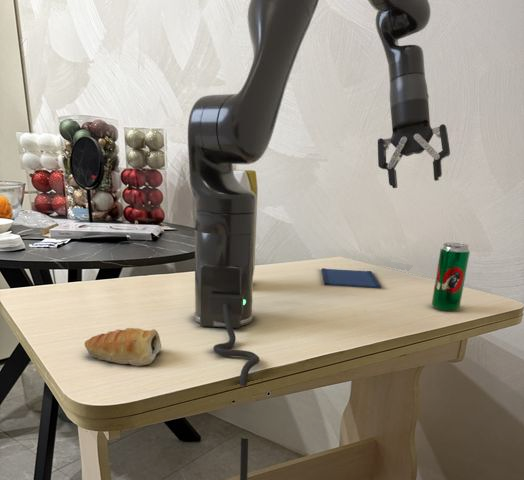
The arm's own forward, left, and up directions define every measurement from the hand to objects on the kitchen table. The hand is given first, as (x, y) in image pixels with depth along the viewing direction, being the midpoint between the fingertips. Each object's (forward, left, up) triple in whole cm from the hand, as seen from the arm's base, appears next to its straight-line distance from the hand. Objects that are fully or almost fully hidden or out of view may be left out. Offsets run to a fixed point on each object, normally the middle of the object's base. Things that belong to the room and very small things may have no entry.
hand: (415, 184), depth 109 cm
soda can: (-19, -5, -22) cm, 29 cm away
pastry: (-54, +45, -22) cm, 74 cm away
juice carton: (-11, +37, -22) cm, 45 cm away
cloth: (+3, +11, -21) cm, 24 cm away
